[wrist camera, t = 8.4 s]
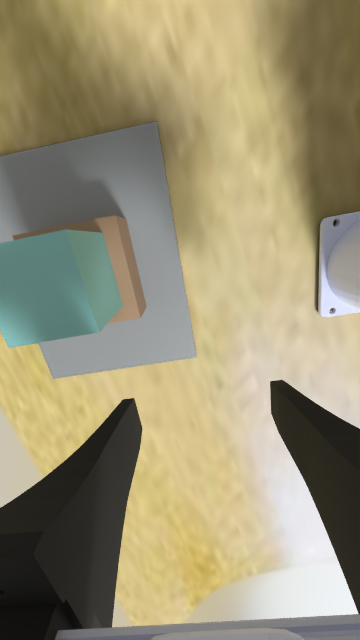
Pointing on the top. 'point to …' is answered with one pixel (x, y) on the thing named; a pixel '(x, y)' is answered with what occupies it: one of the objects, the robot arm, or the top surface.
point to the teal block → (56, 287)
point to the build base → (99, 196)
